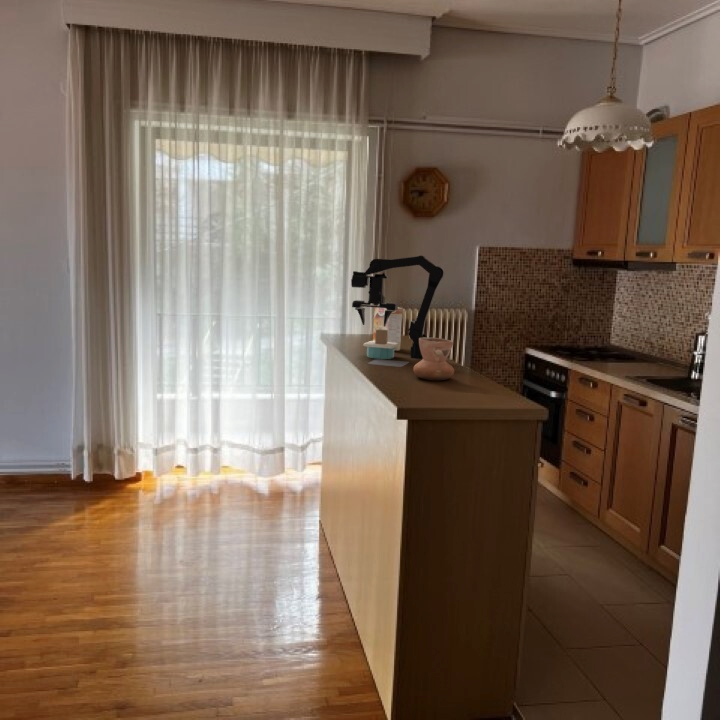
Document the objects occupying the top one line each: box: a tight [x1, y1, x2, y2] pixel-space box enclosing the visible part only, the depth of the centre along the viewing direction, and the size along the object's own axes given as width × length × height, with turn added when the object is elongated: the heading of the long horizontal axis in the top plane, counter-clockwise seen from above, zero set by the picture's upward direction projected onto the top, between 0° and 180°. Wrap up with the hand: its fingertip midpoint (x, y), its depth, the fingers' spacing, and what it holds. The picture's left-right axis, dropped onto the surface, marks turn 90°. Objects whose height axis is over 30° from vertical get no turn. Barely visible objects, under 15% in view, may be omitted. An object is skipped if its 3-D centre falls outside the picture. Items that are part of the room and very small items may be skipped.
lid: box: [362, 329, 398, 349], centre depth 294 cm, size 12×12×6 cm
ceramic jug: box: [413, 336, 455, 382], centre depth 251 cm, size 18×14×14 cm
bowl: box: [366, 346, 395, 360], centre depth 295 cm, size 11×11×5 cm
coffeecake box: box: [372, 306, 403, 352], centre depth 323 cm, size 15×7×20 cm, turn 25°
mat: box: [366, 358, 410, 368], centre depth 280 cm, size 14×14×1 cm
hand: (374, 325), depth 300 cm, fingers open, 9 cm apart
